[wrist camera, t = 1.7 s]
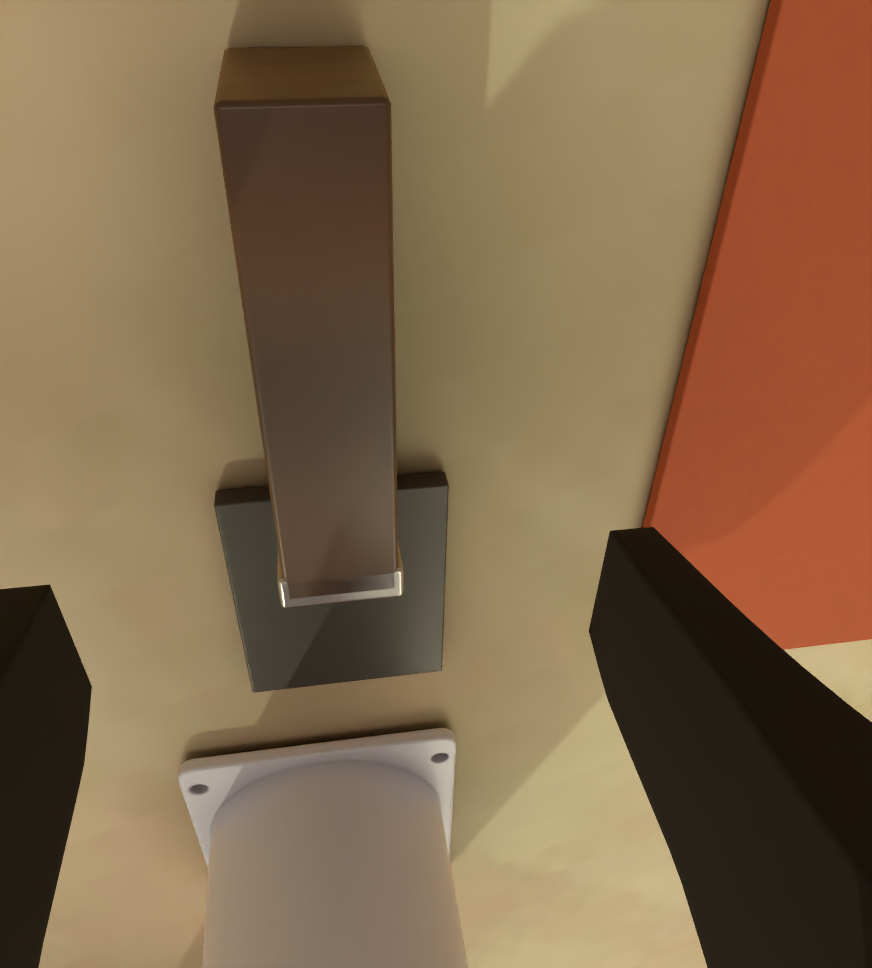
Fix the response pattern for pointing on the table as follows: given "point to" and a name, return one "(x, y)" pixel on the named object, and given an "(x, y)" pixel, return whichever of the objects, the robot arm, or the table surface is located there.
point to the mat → (785, 346)
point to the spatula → (323, 381)
